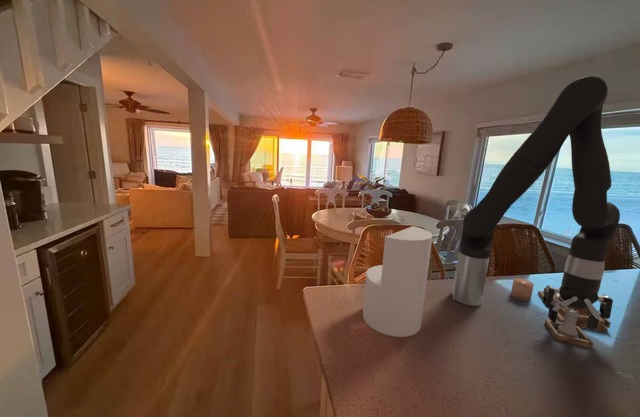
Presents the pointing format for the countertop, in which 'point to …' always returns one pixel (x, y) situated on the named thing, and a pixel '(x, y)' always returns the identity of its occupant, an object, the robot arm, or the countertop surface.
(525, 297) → the tan rounded block
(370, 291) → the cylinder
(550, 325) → the wooden square frame
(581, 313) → the shallow wooden box
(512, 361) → the countertop surface
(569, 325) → the rook chess piece
